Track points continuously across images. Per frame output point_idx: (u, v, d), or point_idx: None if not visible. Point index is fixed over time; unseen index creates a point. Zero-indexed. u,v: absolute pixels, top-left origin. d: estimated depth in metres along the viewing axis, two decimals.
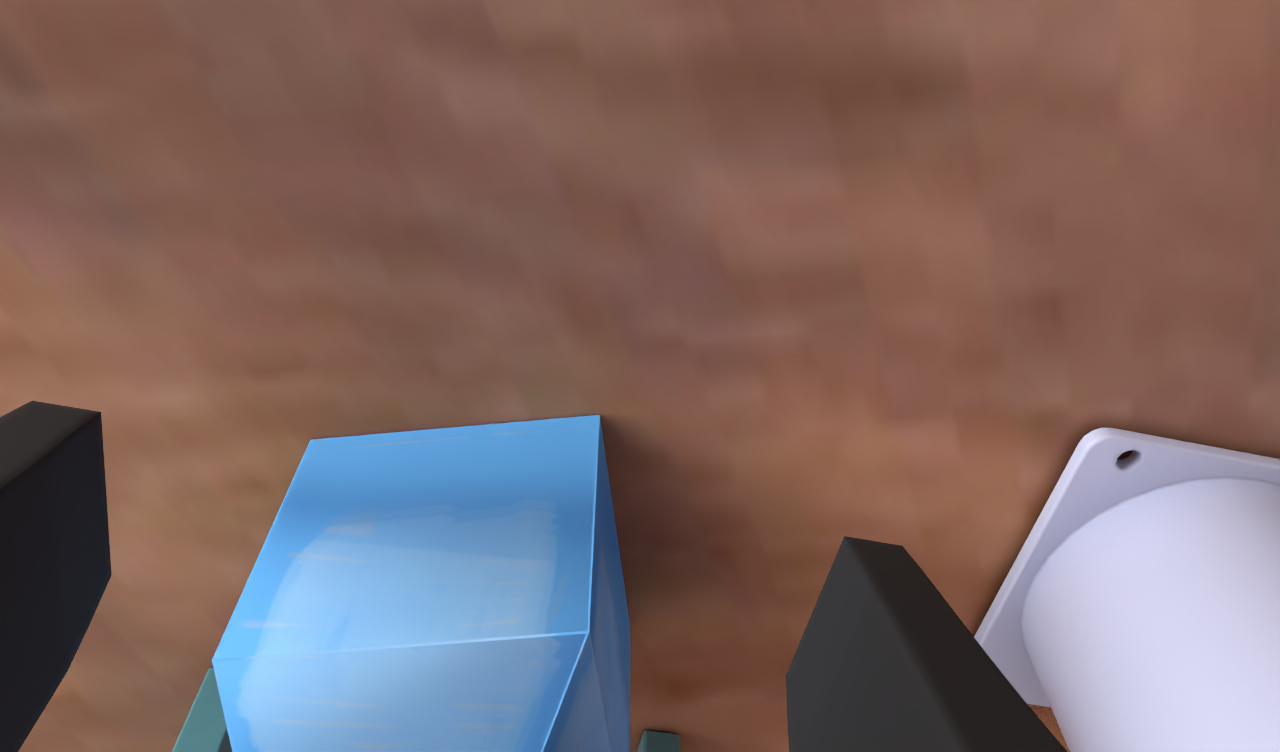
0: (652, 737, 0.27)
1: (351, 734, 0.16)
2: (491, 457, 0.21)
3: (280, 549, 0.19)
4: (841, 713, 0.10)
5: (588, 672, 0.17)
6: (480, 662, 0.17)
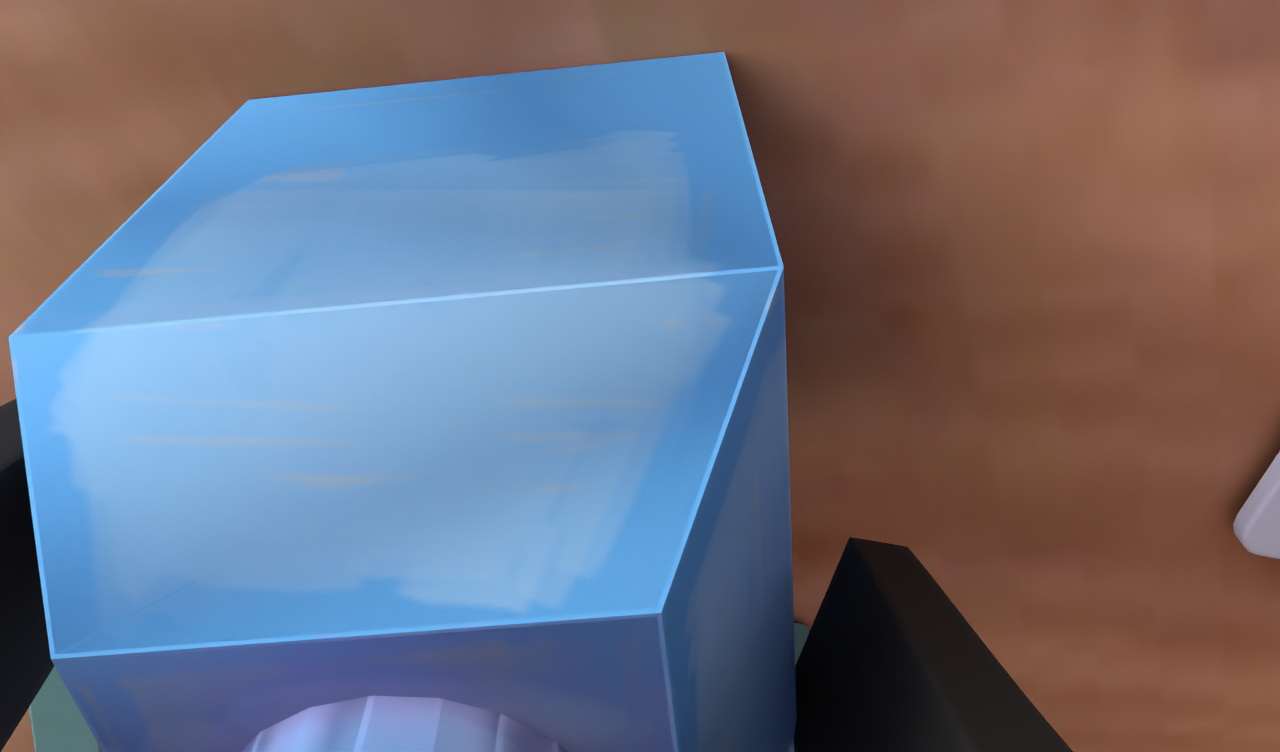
0: None
1: (286, 459, 0.08)
2: (548, 98, 0.12)
3: (175, 203, 0.11)
4: (846, 714, 0.10)
5: (777, 358, 0.08)
6: (558, 324, 0.08)
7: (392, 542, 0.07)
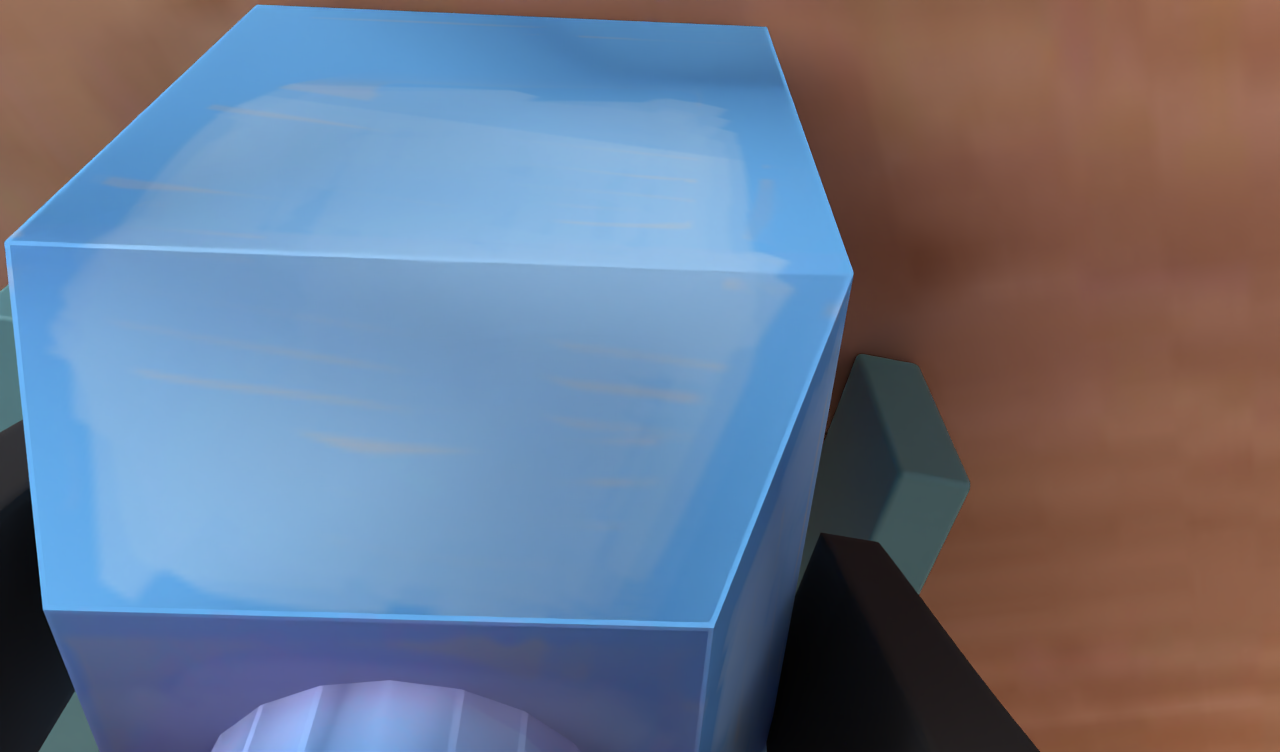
0: (874, 361, 0.15)
1: (316, 416, 0.07)
2: (586, 50, 0.12)
3: (184, 111, 0.10)
4: (816, 709, 0.10)
5: (831, 366, 0.08)
6: (617, 305, 0.08)
7: (429, 520, 0.07)
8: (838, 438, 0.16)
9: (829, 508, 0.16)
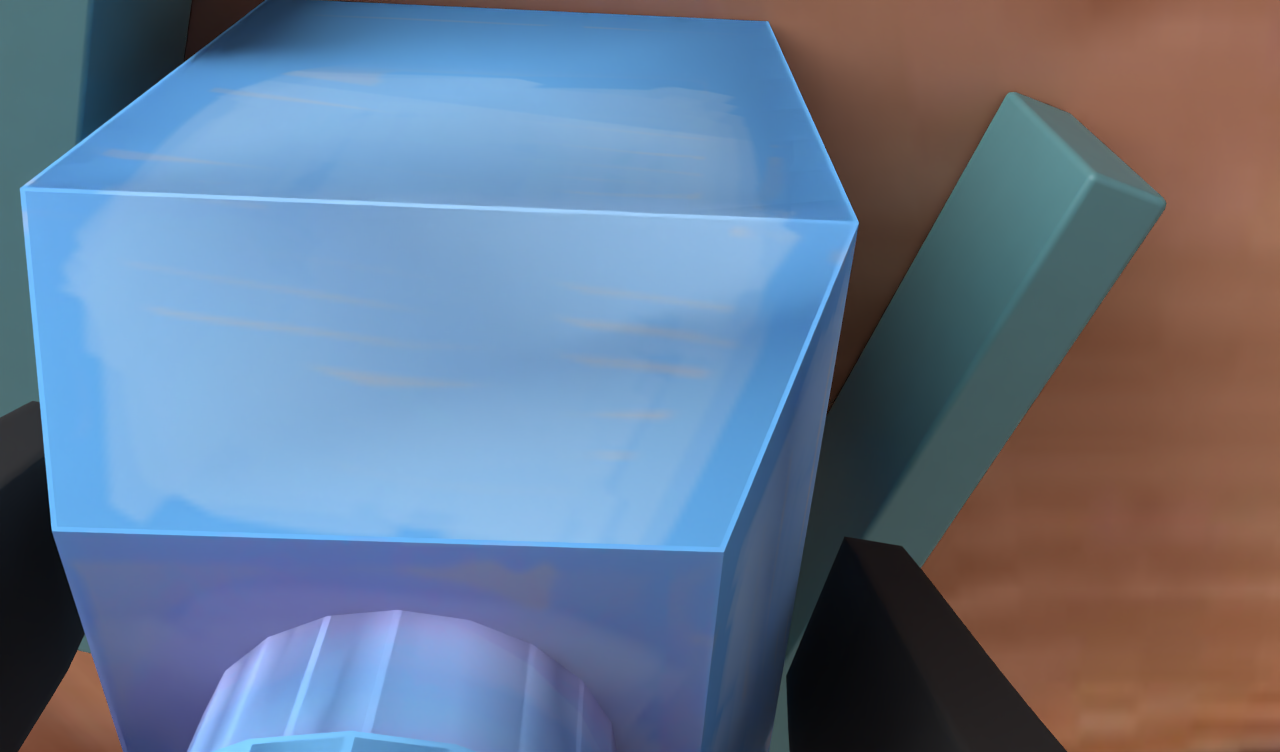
0: (1028, 99, 0.13)
1: (326, 352, 0.07)
2: (591, 39, 0.12)
3: (197, 83, 0.10)
4: (841, 713, 0.10)
5: (837, 317, 0.08)
6: (624, 249, 0.08)
7: (438, 448, 0.07)
8: (974, 186, 0.14)
9: (956, 263, 0.14)
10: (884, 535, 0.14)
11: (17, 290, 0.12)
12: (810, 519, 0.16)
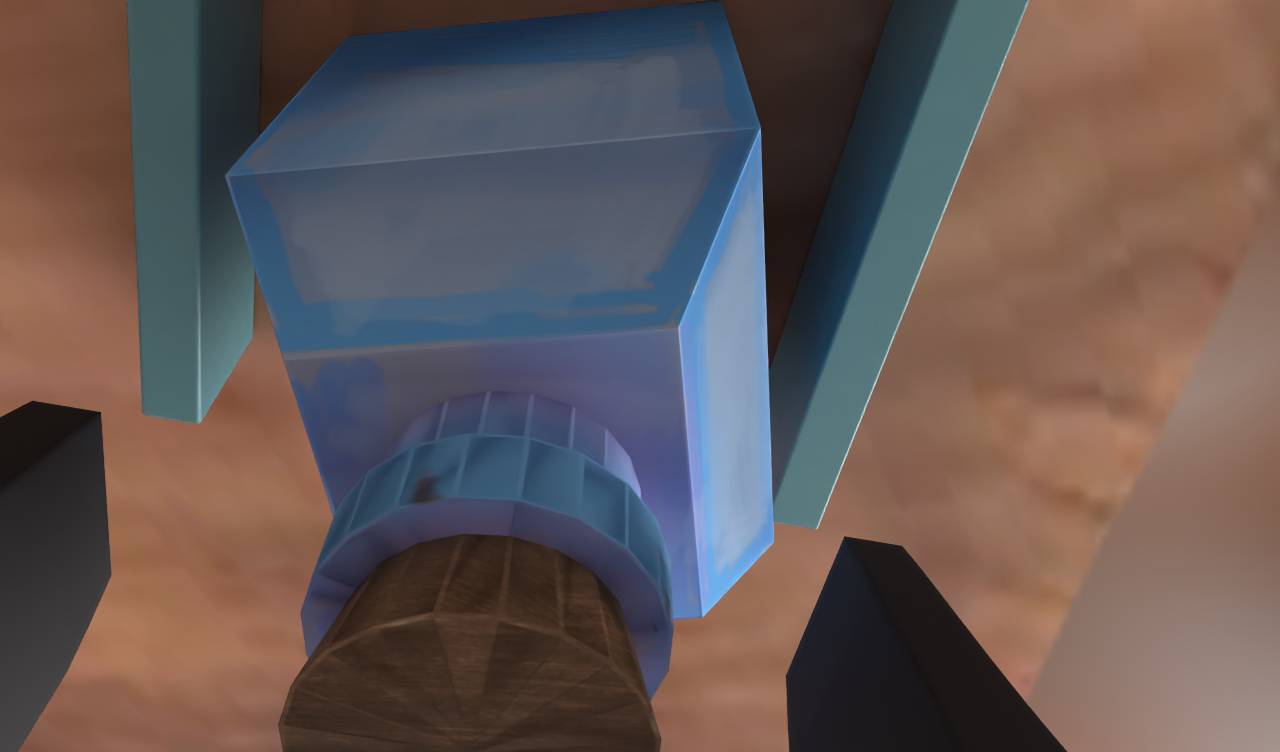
0: None
1: None
2: None
3: None
4: (841, 713, 0.10)
5: None
6: None
7: None
8: (245, 300, 0.19)
9: (234, 278, 0.18)
10: (182, 134, 0.15)
11: (891, 268, 0.16)
12: (236, 26, 0.16)
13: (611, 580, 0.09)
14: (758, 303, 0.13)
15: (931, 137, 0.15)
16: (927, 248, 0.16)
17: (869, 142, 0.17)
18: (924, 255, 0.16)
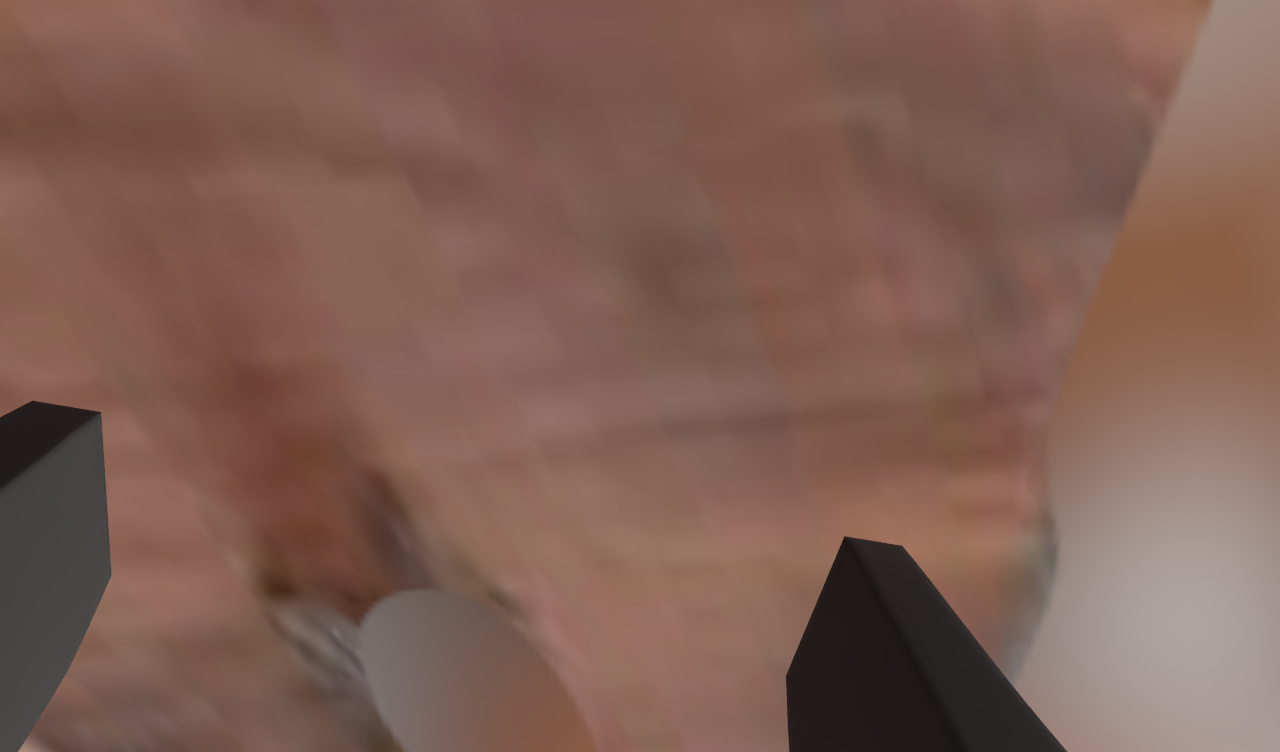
0: None
1: None
2: None
3: None
4: (841, 713, 0.10)
5: None
6: None
7: None
8: None
9: None
10: None
11: None
12: None
13: None
14: None
15: None
16: None
17: None
18: None
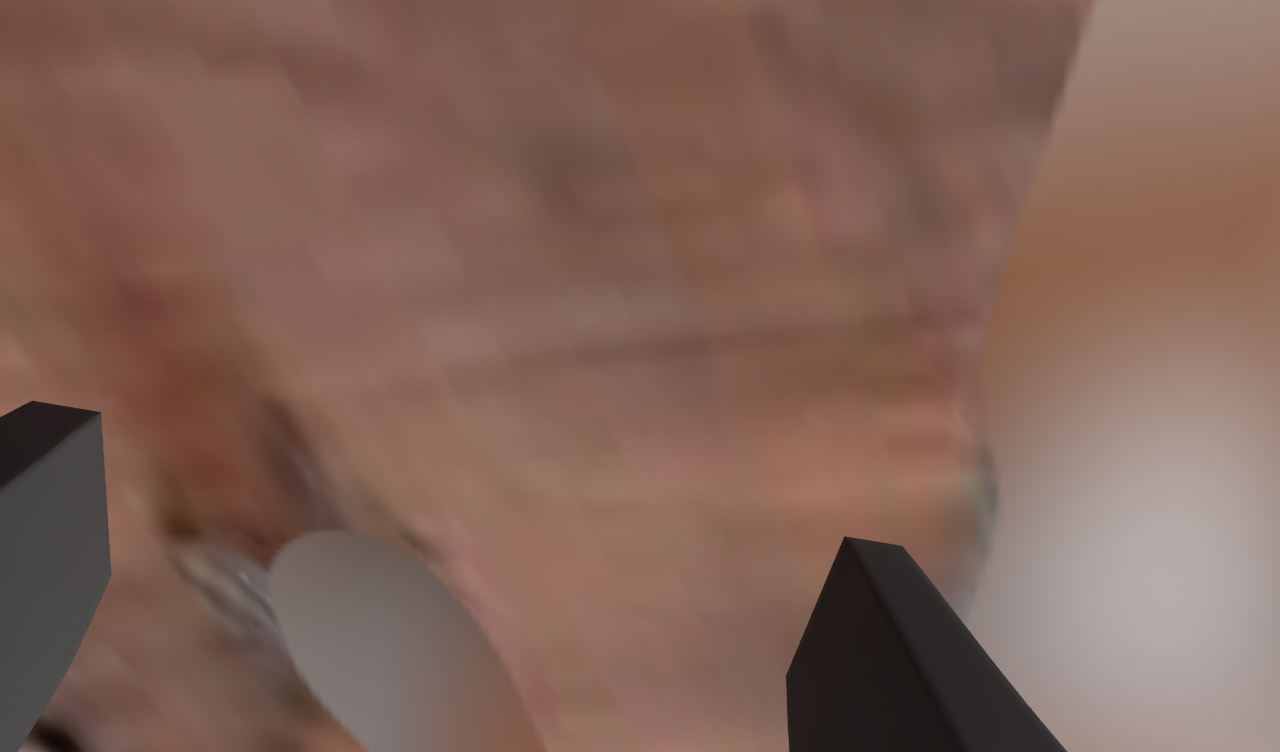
0: None
1: None
2: None
3: None
4: (841, 713, 0.10)
5: None
6: None
7: None
8: None
9: None
10: None
11: None
12: None
13: None
14: None
15: None
16: None
17: None
18: None
